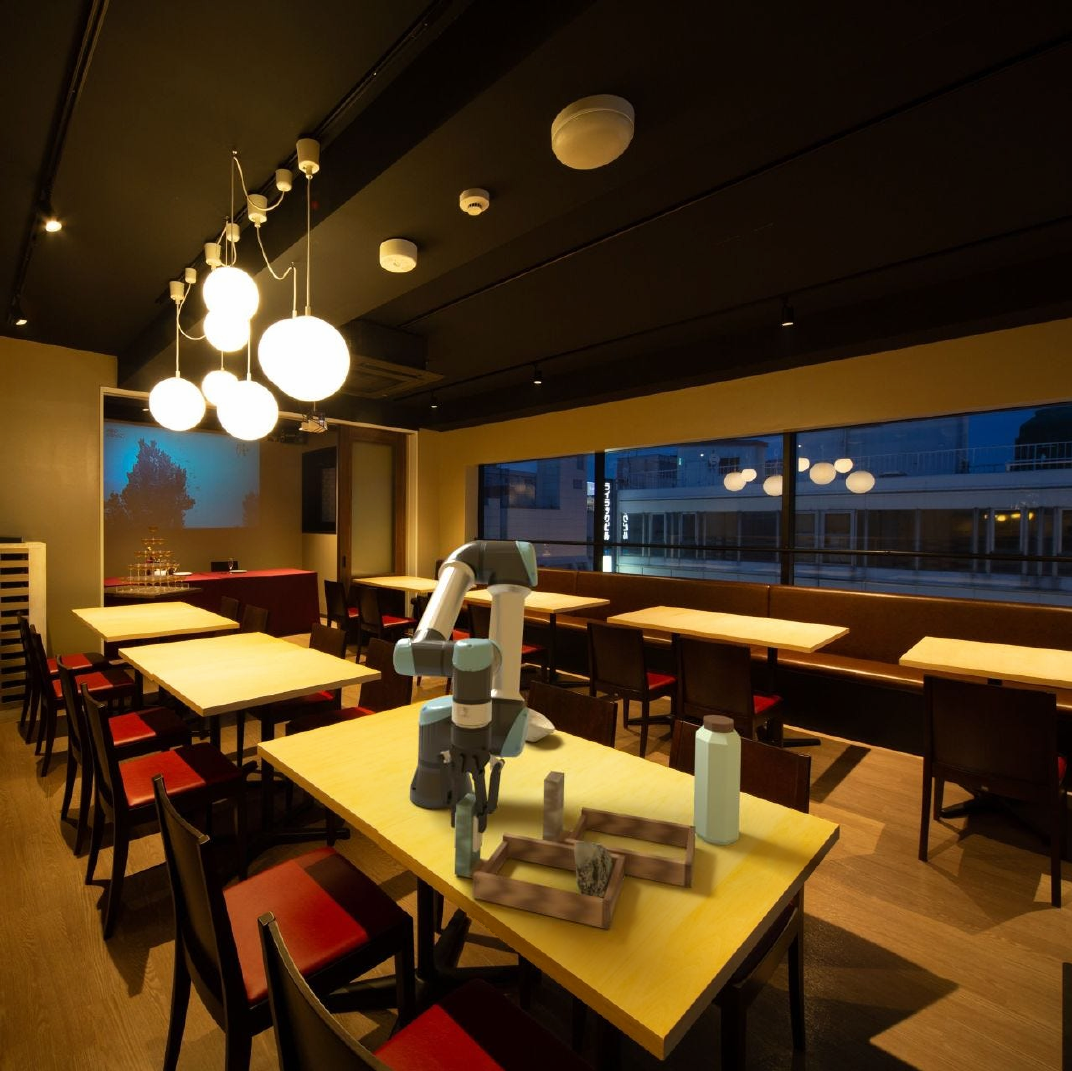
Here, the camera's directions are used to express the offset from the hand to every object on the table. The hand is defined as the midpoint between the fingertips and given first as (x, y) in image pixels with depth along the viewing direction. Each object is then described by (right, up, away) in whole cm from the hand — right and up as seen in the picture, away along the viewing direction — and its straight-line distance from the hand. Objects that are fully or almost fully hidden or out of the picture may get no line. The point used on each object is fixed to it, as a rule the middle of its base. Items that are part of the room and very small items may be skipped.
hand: (468, 846), depth 109 cm
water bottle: (+52, -6, +16) cm, 54 cm away
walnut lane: (+13, -4, -4) cm, 14 cm away
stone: (+23, -5, -6) cm, 24 cm away
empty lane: (+29, -5, +8) cm, 31 cm away
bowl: (+12, -6, +72) cm, 74 cm away
